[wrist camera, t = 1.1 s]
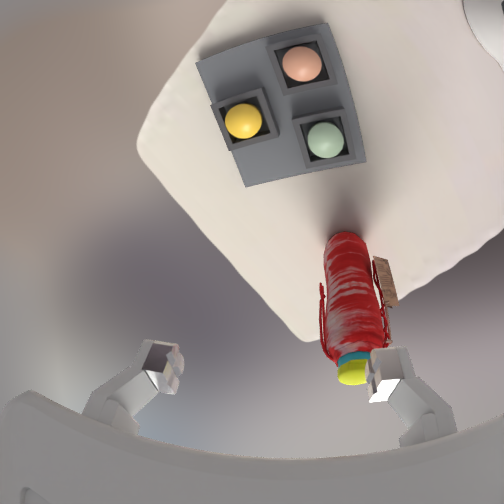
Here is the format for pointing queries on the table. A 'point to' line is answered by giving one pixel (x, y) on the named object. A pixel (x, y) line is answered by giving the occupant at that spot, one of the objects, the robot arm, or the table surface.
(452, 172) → the table surface
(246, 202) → the table surface
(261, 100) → the button panel
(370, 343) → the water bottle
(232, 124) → the amber button
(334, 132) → the sage button
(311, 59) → the terracotta button
